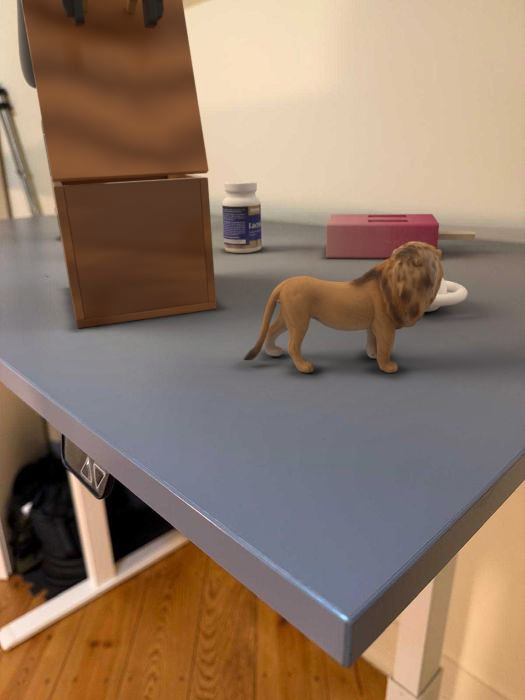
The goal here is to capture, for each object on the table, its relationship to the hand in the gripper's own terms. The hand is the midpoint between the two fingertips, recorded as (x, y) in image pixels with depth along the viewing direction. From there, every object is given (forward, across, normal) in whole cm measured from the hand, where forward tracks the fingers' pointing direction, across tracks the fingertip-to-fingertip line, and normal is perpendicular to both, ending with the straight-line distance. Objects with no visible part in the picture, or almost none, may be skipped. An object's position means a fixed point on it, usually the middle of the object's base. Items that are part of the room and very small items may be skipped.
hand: (115, 24), depth 43 cm
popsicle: (+25, -38, -14) cm, 48 cm away
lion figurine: (+25, -12, +17) cm, 33 cm away
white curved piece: (+25, -25, +10) cm, 37 cm away
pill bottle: (+25, -19, -26) cm, 41 cm away
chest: (+25, 0, -8) cm, 26 cm away
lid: (+4, 0, -3) cm, 5 cm away
